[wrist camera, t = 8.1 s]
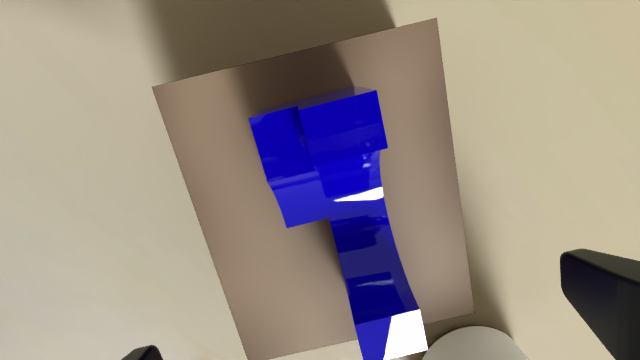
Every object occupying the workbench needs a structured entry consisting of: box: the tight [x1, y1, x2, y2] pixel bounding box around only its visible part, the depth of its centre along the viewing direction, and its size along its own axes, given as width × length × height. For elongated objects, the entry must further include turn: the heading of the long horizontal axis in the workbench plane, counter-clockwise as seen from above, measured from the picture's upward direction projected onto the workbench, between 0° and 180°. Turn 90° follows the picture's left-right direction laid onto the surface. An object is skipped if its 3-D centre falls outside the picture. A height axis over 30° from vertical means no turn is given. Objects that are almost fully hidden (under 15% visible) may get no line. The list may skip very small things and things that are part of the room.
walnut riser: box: [152, 18, 474, 360], centre depth 16 cm, size 10×12×5 cm
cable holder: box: [248, 86, 428, 360], centre depth 12 cm, size 8×4×4 cm, turn 14°
